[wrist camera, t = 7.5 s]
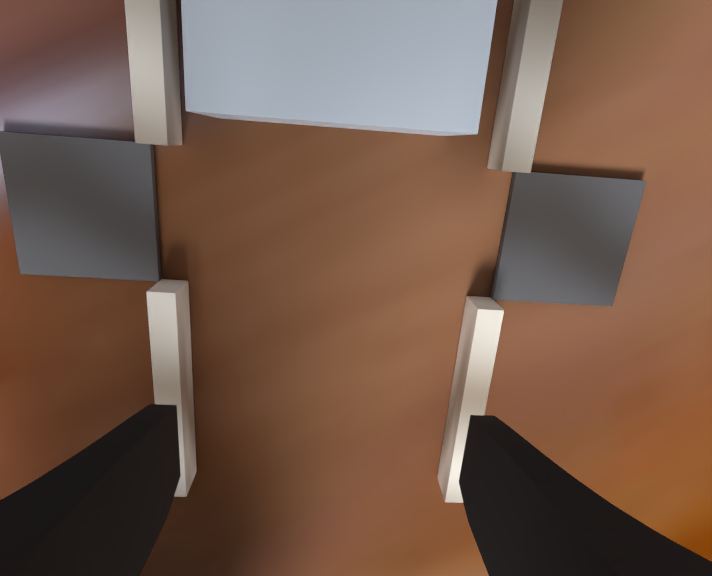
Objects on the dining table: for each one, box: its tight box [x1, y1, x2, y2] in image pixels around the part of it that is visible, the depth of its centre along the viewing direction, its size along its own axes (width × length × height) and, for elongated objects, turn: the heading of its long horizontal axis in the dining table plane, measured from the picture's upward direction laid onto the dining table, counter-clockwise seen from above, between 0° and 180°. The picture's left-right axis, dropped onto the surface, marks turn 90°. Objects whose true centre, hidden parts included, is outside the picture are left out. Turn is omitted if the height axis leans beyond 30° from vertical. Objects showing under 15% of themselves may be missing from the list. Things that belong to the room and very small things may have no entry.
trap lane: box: [0, 0, 646, 503], centre depth 15 cm, size 24×23×3 cm
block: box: [181, 0, 497, 136], centre depth 13 cm, size 6×8×4 cm
